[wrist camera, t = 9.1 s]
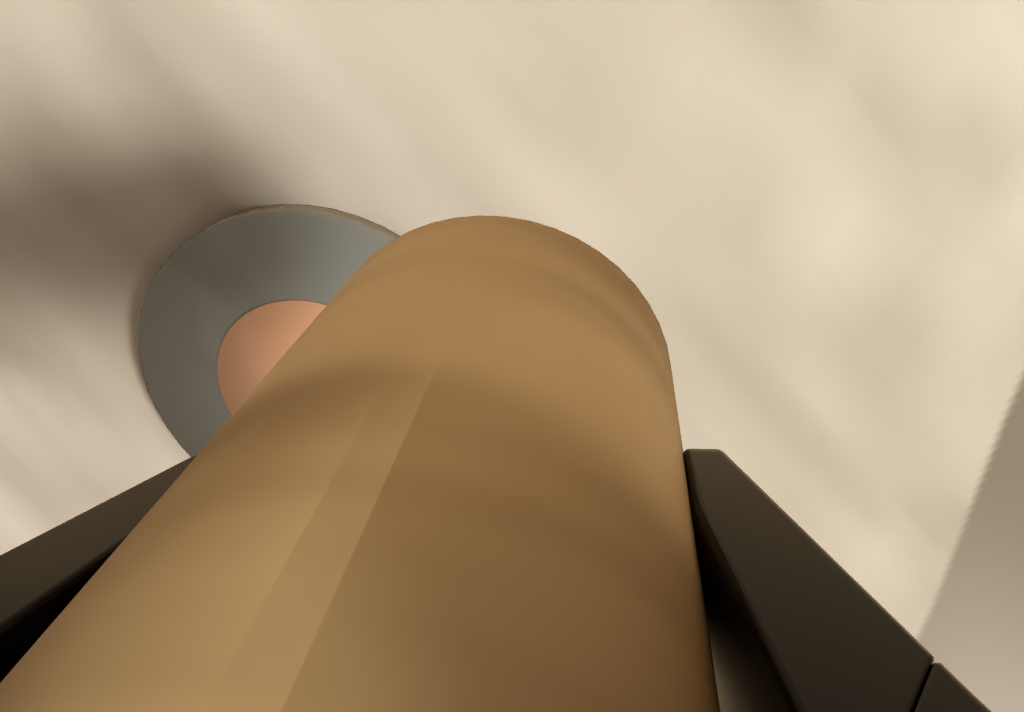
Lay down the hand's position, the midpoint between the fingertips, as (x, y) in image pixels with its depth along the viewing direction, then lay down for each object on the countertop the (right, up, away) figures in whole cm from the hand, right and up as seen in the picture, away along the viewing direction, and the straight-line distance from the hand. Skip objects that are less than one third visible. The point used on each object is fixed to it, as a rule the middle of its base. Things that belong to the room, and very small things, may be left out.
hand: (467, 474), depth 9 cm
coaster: (-5, +1, +14) cm, 15 cm away
